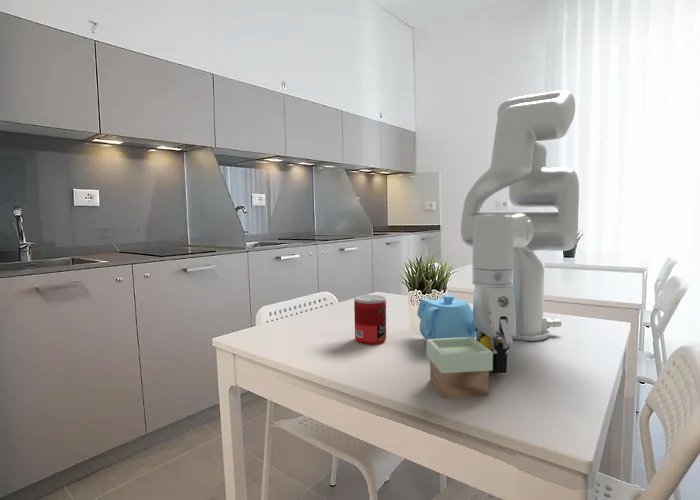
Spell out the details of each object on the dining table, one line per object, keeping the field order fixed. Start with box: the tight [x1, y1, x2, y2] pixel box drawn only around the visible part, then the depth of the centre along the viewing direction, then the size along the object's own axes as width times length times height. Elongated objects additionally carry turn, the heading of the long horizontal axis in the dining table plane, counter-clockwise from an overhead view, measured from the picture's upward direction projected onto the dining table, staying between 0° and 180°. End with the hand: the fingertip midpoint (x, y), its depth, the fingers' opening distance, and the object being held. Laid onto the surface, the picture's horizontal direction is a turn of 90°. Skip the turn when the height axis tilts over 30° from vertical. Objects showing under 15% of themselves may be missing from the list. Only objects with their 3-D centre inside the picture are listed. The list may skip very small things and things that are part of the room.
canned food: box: [353, 294, 387, 346], centre depth 104 cm, size 8×8×11 cm
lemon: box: [479, 335, 502, 373], centre depth 82 cm, size 6×6×8 cm
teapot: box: [417, 294, 477, 340], centre depth 101 cm, size 20×17×12 cm
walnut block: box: [429, 359, 489, 399], centre depth 75 cm, size 8×8×5 cm
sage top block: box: [425, 337, 493, 373], centre depth 75 cm, size 9×9×3 cm
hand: (491, 366), depth 82 cm, fingers closed on lemon, 5 cm apart
